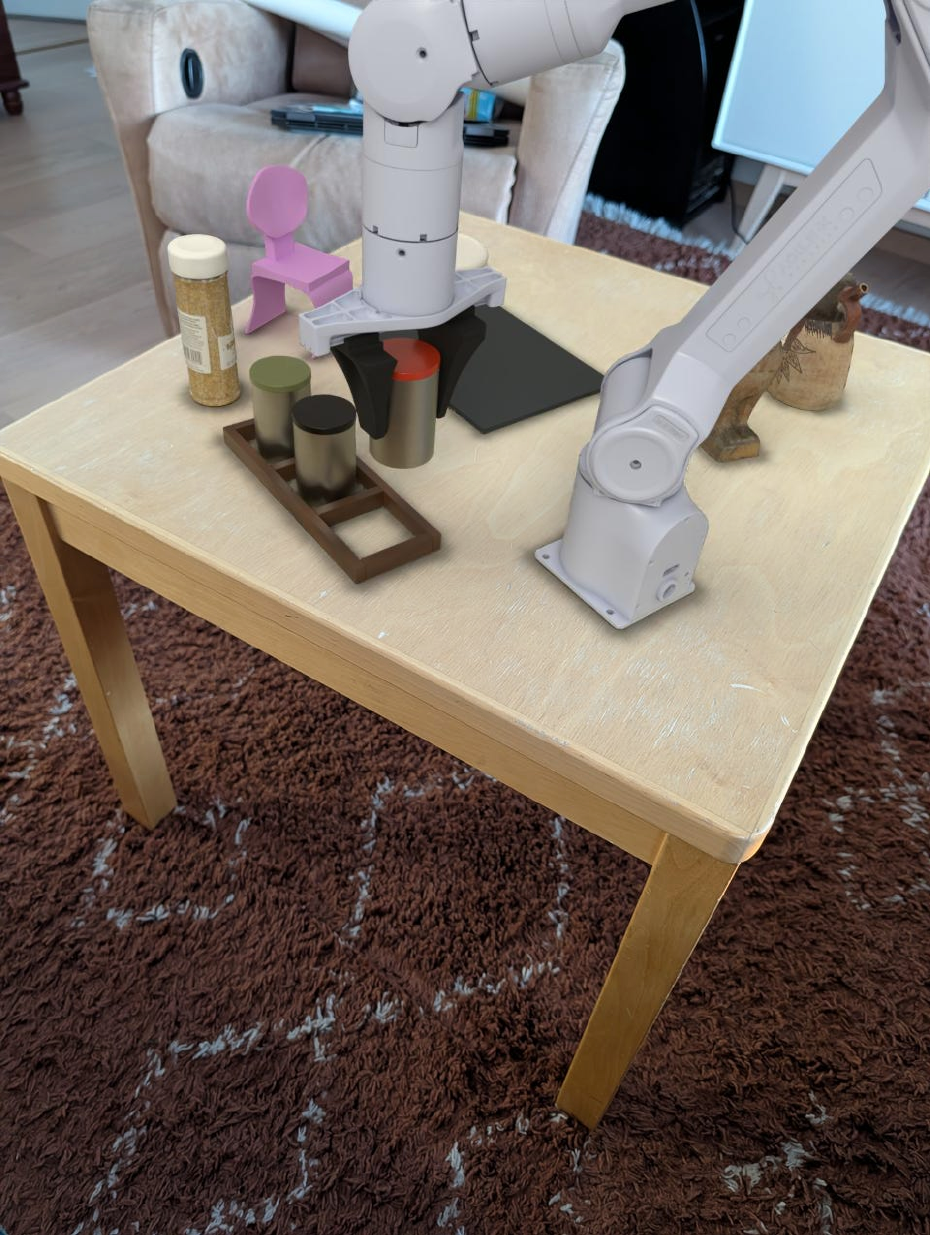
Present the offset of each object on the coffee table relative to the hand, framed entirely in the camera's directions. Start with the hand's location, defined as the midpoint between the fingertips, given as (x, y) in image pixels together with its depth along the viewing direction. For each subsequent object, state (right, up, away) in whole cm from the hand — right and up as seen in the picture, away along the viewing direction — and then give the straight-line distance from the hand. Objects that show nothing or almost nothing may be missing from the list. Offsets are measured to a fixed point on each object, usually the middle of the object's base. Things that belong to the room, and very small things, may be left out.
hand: (403, 421), depth 64 cm
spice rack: (-7, -4, +9) cm, 12 cm away
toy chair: (-12, +14, +27) cm, 32 cm away
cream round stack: (+2, +24, +38) cm, 45 cm away
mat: (+6, +11, +26) cm, 29 cm away
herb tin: (-11, 0, +12) cm, 16 cm away
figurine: (+37, +8, +26) cm, 47 cm away
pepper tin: (-7, -4, +9) cm, 12 cm away
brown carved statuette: (+26, +4, +21) cm, 34 cm away
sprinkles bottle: (-18, +6, +18) cm, 26 cm away
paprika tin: (0, -2, +2) cm, 2 cm away
